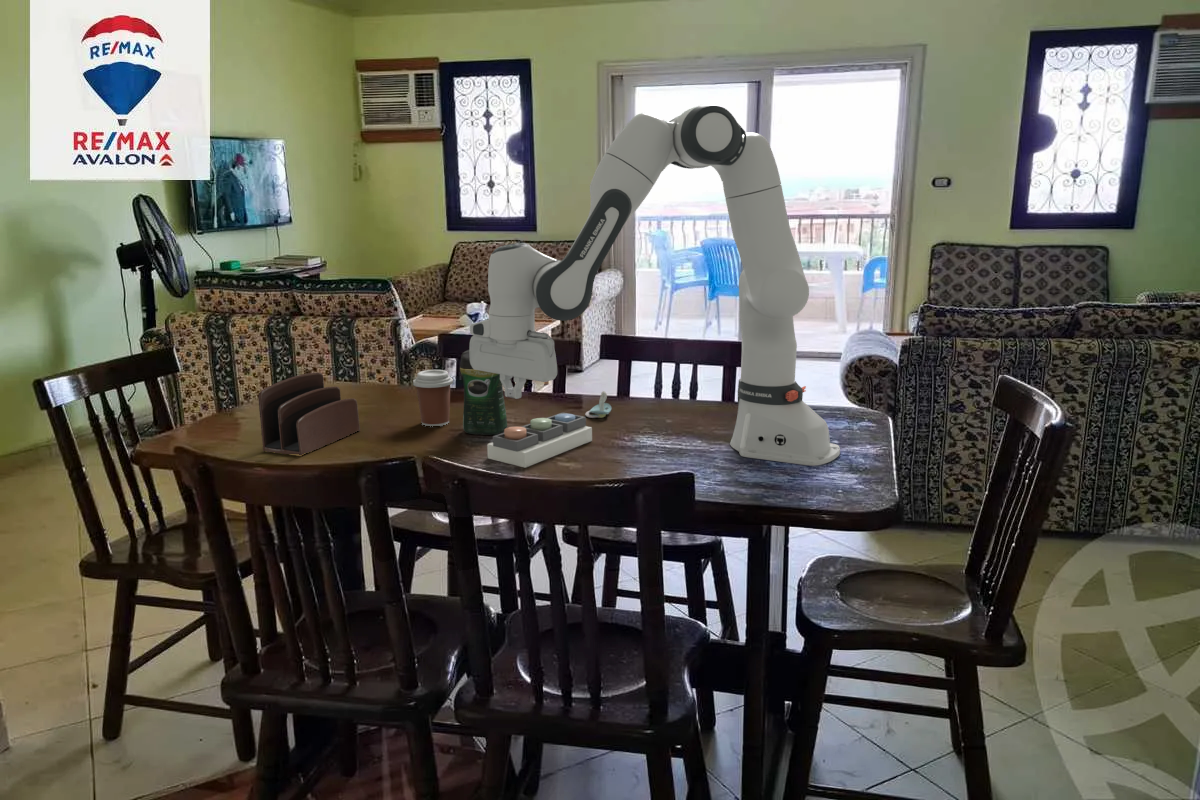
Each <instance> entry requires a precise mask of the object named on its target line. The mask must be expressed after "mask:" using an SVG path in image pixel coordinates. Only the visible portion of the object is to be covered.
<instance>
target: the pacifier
mask: <svg viewBox="0 0 1200 800" xmlns="http://www.w3.org/2000/svg"><path fill="white" fill-rule="evenodd" d="M607 397H608V394H607V392H606V391H605V390H602V391H601V394H600V396H599V400H598V401H599V402H598V404H596V405H594V406H592V408H590V410H588V411H586V412H585V413H584V415H585V417H587V418H590V419H591V418H592V419H596V418H604V417H606V415H609V413H611V411H612V406H611V404H610V403H607V402H606V401H607Z"/></svg>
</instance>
